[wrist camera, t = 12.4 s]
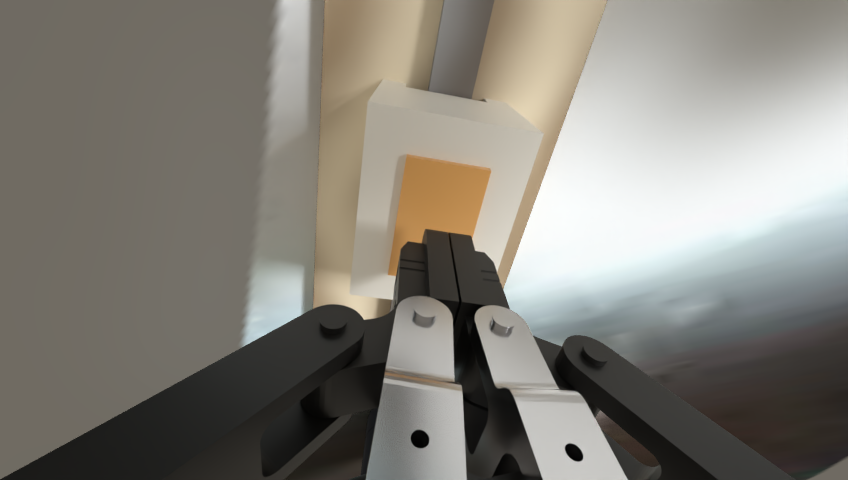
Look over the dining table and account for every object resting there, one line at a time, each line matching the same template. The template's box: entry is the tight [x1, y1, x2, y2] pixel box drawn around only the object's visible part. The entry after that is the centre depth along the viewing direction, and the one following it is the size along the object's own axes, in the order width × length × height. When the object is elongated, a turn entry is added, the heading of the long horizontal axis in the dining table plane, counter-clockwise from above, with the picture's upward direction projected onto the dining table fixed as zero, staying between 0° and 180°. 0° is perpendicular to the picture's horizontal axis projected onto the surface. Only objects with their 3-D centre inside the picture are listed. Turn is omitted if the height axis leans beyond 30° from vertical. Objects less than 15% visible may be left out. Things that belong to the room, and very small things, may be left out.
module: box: [349, 79, 544, 300], centre depth 17 cm, size 6×8×6 cm
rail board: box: [313, 0, 608, 320], centre depth 19 cm, size 12×26×2 cm, turn 170°
